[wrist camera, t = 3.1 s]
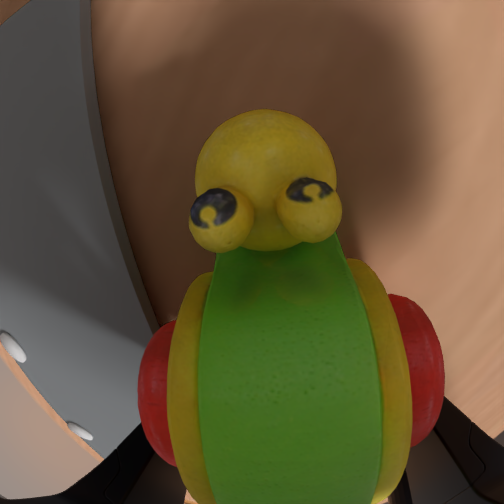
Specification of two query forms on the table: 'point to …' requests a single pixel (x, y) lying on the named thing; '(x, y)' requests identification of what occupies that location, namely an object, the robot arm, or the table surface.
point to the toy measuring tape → (285, 338)
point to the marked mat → (65, 230)
